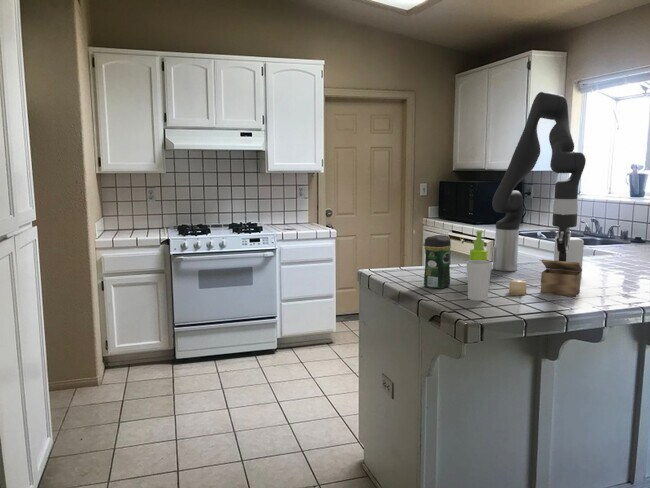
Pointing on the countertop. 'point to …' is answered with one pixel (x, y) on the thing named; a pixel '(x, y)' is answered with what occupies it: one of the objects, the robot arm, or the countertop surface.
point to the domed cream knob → (517, 287)
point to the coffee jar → (437, 261)
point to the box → (560, 282)
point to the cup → (478, 279)
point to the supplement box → (572, 251)
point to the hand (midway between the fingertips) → (562, 263)
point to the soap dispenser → (478, 248)
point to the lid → (562, 265)
